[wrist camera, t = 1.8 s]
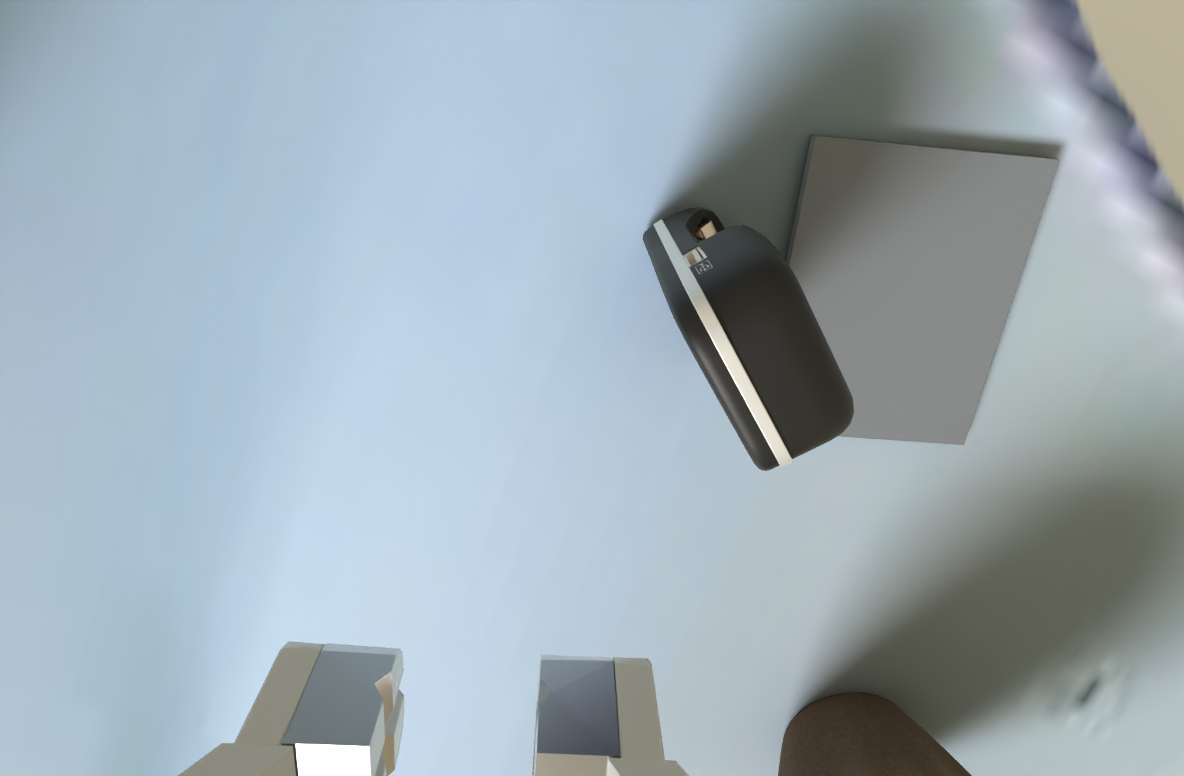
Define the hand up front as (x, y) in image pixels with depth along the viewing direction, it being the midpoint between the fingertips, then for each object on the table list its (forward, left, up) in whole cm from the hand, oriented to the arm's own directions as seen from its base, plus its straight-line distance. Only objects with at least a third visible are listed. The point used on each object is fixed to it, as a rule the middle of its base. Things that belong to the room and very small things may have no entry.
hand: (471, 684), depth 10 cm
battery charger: (+8, 0, -23) cm, 25 cm away
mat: (+16, 0, -23) cm, 28 cm away
